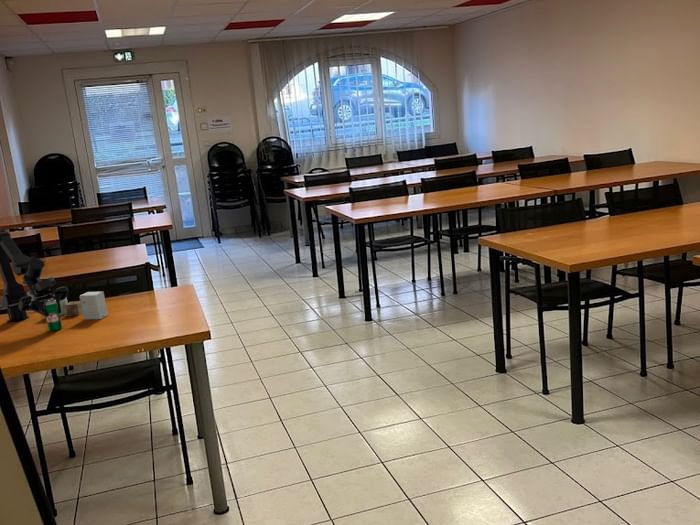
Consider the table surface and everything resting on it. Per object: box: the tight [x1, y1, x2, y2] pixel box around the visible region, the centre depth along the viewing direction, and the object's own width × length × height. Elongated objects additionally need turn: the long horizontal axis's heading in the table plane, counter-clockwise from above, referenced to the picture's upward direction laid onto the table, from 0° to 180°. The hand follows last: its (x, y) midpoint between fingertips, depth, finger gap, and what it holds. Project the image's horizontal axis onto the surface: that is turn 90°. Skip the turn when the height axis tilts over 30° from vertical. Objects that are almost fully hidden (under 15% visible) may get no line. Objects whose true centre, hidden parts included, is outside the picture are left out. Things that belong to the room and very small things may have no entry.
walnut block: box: [65, 300, 83, 317], centre depth 282 cm, size 5×5×5 cm
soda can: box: [42, 299, 63, 332], centre depth 260 cm, size 5×5×12 cm
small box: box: [79, 290, 109, 320], centre depth 273 cm, size 8×6×10 cm
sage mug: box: [48, 297, 69, 317], centre depth 285 cm, size 8×7×9 cm
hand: (53, 314), depth 259 cm, fingers closed on soda can, 5 cm apart
